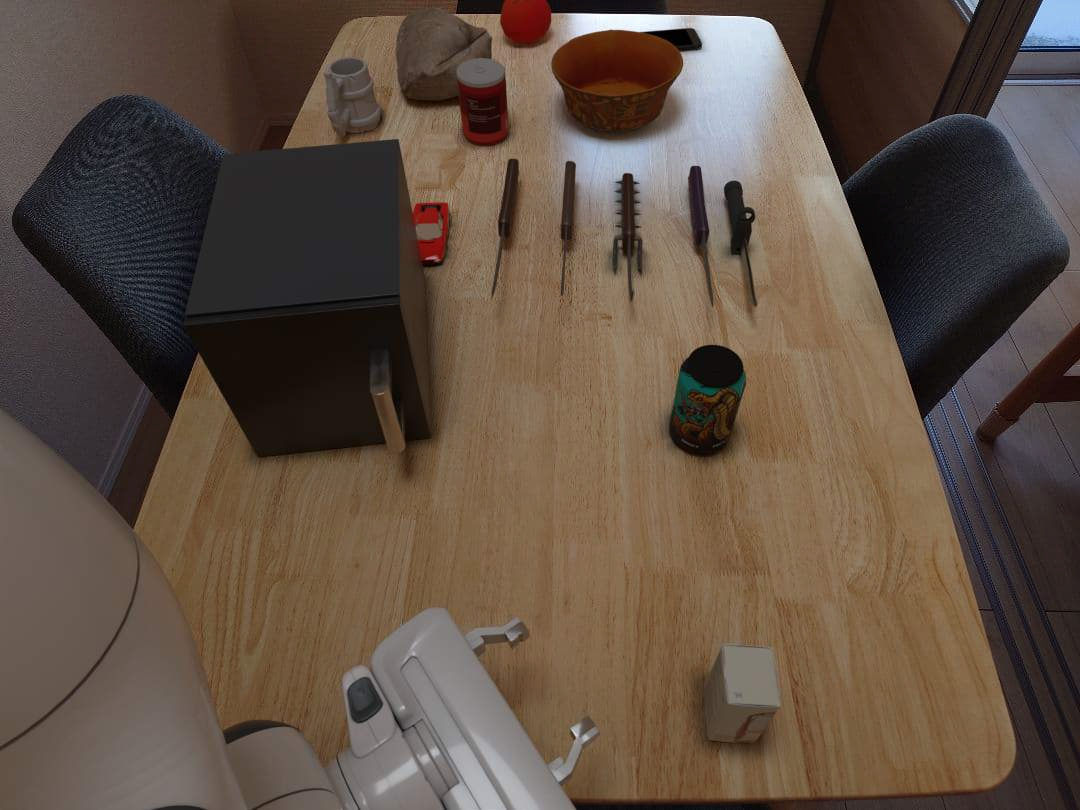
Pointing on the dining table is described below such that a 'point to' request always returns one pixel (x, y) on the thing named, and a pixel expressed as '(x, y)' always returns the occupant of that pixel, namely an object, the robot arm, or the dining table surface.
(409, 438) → the cupboard door
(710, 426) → the beverage can
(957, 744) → the dining table surface
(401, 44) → the rock
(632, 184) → the knife set
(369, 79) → the mug
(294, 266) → the cupboard
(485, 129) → the canned food
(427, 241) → the toy car
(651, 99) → the bowl
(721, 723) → the white carton box
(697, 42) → the smartphone
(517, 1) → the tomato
